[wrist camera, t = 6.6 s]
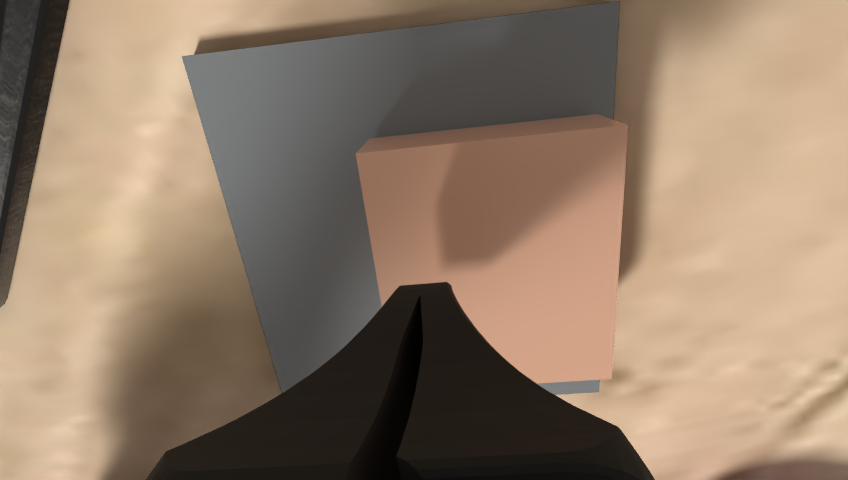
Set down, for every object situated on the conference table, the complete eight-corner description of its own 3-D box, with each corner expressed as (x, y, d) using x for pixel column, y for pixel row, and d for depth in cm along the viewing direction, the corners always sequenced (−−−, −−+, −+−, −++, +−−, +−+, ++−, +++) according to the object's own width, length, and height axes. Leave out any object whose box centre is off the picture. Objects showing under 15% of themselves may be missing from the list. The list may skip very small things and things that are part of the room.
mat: (594, 381, 18) (599, 392, 17) (291, 400, 19) (287, 410, 18) (612, 3, 13) (619, 1, 12) (192, 56, 14) (181, 56, 13)
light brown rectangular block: (402, 343, 17) (585, 330, 16) (396, 392, 14) (611, 378, 14) (371, 137, 14) (593, 112, 13) (355, 153, 11) (628, 124, 11)
